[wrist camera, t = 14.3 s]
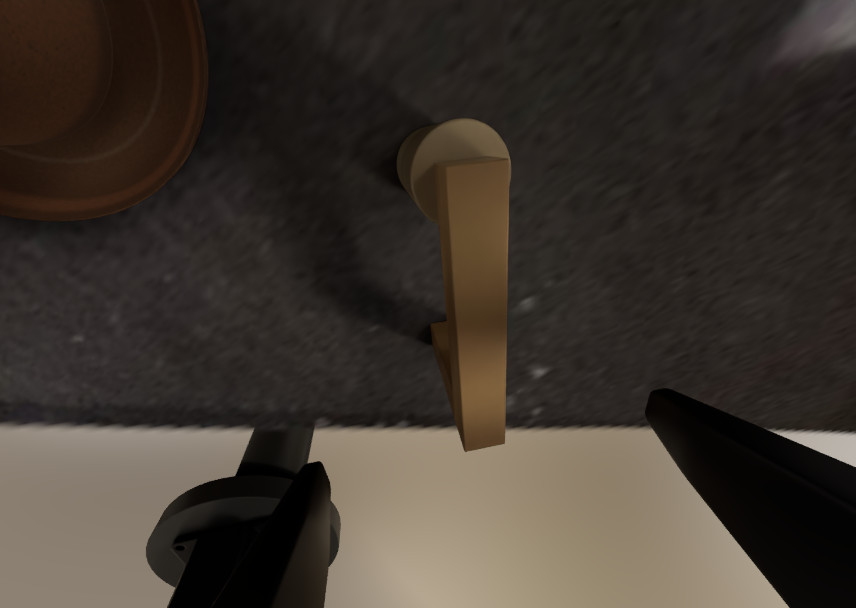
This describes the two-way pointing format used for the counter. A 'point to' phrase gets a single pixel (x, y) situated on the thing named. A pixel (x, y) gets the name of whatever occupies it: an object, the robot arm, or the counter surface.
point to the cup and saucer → (96, 103)
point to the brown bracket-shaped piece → (467, 264)
